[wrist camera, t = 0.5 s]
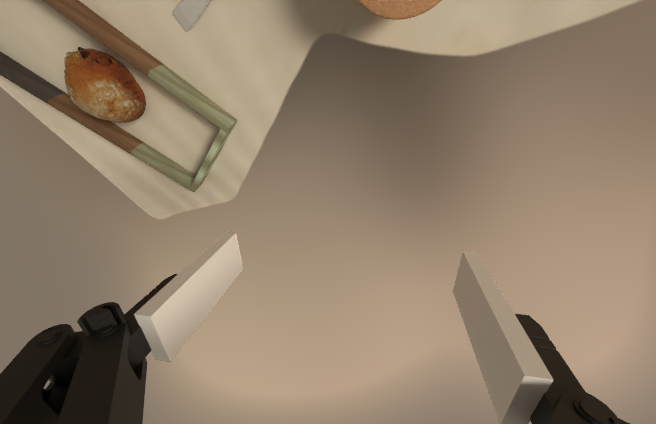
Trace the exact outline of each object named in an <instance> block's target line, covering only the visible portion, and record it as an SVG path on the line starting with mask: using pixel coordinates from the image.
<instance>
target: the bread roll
mask: <svg viewBox="0 0 656 424" xmlns="http://www.w3.org/2000/svg"><path fill="white" fill-rule="evenodd" d="M66 55H67V57H65V70H64V73H65V82H66V87H67V90H68V93H69V96H70V99H71V100H72V101H73V103H74V104H75V105H76V106H77V107H79V108H80V109H81V110H83V111H84V112H86V113H88V114H90V115H92V116H94V117H96V118H99V119H103V120H110V121H112V122H130V121H134V120H136V119H138V118H139V117H141V116H142V115H143V113H144V110H145V106H146V102H145V96H144V93H143V90H142V89H141V87H140V86H139V84H138V83H137V82H136V80H135V79H134V77H133V76H132V75H131V73H130V72H129V71H128V69H127V68H126V67H125V66H124V65H122V64H121V63H120V62H119V61H117V60H116V59H115V58H113V57H112V56H110V55H108V54H106V53H104V52H101V51H97V50H94V49H83V48H81V47H78V51H76V52H68V53H66Z"/></svg>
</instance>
